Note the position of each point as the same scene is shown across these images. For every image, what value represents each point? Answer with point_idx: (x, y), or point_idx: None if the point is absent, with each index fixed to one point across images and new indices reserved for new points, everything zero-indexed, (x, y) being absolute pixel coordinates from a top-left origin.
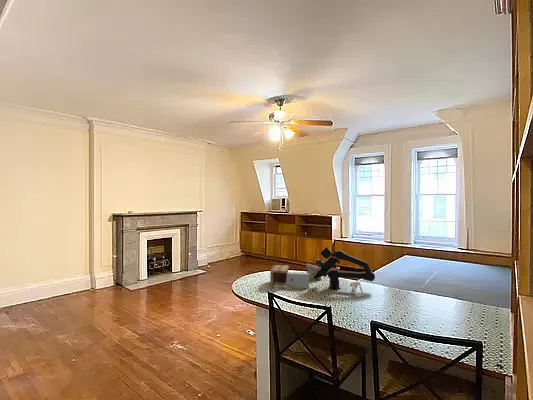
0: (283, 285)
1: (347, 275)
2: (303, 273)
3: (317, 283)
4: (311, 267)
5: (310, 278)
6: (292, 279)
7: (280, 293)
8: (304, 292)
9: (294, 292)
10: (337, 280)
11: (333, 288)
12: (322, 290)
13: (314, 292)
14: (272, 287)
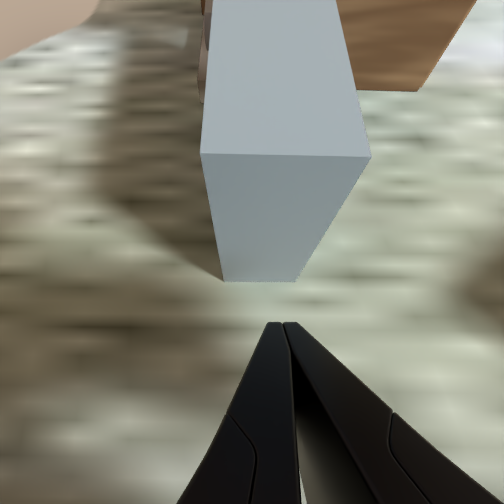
0: (201, 44)
1: None
2: (284, 48)
3: (496, 412)
4: None
5: None
6: (205, 32)
7: (39, 54)
8: (40, 232)
9: (54, 143)
10: None
11: None
12: (114, 500)
13: (21, 356)
14: (202, 10)
